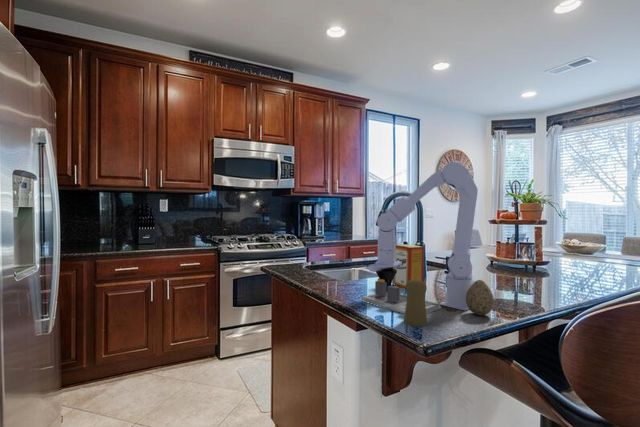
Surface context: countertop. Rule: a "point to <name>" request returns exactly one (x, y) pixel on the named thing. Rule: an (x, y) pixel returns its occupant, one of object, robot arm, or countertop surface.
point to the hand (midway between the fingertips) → (385, 291)
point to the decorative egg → (479, 298)
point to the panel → (397, 303)
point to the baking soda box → (408, 264)
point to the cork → (415, 303)
